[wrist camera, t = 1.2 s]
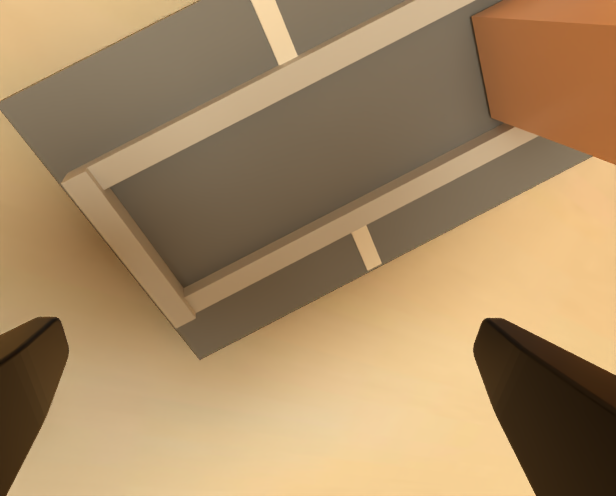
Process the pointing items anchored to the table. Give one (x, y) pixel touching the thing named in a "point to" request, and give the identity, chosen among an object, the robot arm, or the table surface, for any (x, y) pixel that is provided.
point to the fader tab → (552, 70)
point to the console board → (278, 149)
